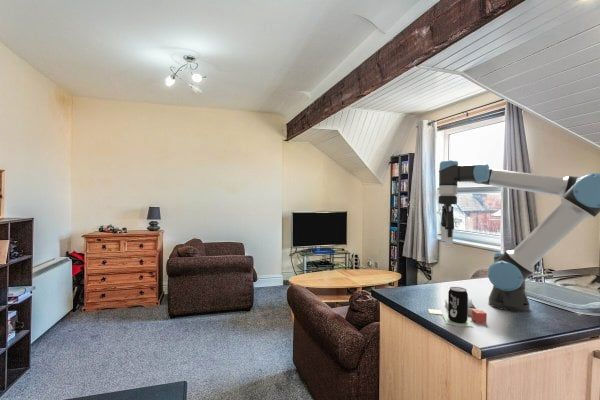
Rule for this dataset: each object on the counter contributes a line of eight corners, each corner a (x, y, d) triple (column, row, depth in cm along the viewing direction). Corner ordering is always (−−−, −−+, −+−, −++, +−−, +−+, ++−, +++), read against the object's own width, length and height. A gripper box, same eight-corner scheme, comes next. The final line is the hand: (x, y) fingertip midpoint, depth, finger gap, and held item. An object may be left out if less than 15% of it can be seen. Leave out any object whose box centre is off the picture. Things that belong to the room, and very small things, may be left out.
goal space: (467, 318, 124) (467, 317, 124) (473, 327, 116) (473, 326, 116) (442, 315, 127) (442, 314, 127) (446, 324, 118) (446, 323, 118)
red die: (481, 319, 124) (481, 309, 124) (486, 323, 120) (486, 313, 120) (471, 319, 124) (472, 309, 124) (476, 322, 120) (476, 312, 120)
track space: (440, 311, 132) (440, 310, 132) (442, 315, 127) (442, 314, 127) (427, 309, 134) (427, 308, 134) (429, 313, 129) (429, 312, 129)
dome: (469, 304, 136) (470, 291, 136) (474, 309, 129) (474, 296, 129) (450, 302, 138) (450, 290, 138) (453, 307, 131) (453, 295, 131)
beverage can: (469, 324, 117) (469, 292, 117) (450, 322, 119) (450, 290, 119) (465, 318, 124) (465, 287, 124) (446, 316, 125) (446, 285, 125)
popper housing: (473, 307, 137) (473, 301, 137) (479, 316, 127) (479, 310, 127) (445, 304, 141) (445, 298, 141) (449, 313, 130) (449, 306, 130)
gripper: (435, 195, 156) (434, 239, 157) (442, 194, 133) (441, 246, 133) (452, 195, 154) (451, 239, 154) (462, 195, 130) (461, 247, 131)
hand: (446, 242), depth 144 cm, fingers open, 13 cm apart
